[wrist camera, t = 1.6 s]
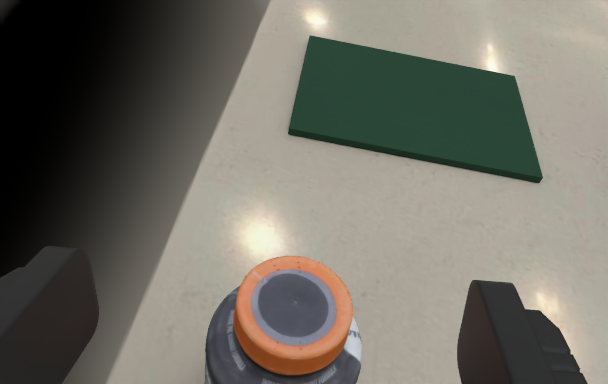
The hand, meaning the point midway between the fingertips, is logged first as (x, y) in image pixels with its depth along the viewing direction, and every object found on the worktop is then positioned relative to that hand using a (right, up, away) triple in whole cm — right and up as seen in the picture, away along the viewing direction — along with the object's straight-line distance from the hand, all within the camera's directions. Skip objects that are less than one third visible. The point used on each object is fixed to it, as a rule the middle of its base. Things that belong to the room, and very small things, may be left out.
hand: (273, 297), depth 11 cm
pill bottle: (-1, -9, +15) cm, 17 cm away
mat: (+10, +10, +34) cm, 37 cm away
